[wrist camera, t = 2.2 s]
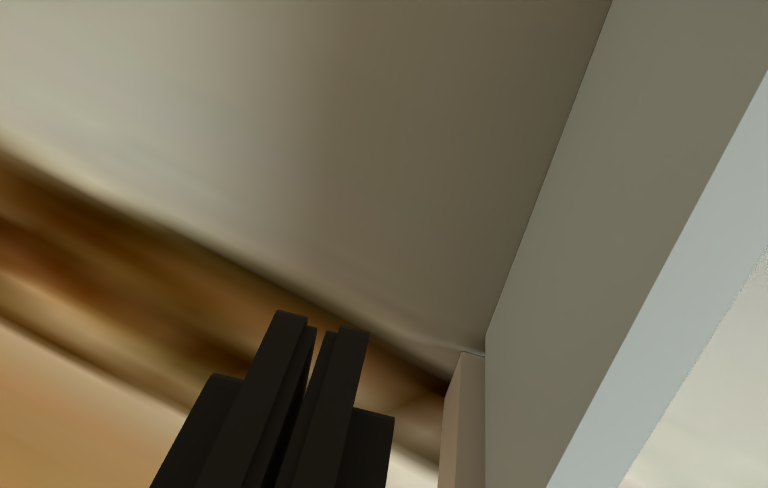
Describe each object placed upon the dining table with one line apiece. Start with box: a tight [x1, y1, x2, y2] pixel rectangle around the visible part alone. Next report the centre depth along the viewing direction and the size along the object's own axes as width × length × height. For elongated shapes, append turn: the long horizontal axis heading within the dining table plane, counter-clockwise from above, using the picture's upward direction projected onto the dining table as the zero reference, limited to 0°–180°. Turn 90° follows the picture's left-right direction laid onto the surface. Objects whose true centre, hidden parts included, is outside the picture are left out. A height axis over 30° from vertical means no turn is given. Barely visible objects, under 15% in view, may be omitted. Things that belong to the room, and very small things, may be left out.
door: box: [485, 0, 768, 488], centre depth 18 cm, size 17×2×13 cm, turn 167°
